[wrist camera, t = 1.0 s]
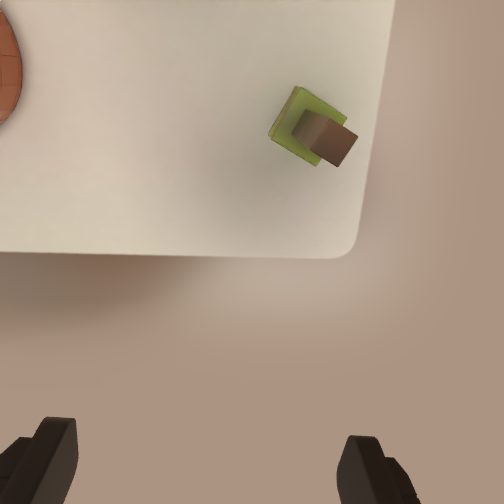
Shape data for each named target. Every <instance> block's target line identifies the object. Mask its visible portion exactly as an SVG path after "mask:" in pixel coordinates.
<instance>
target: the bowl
mask: <svg viewBox="0 0 504 504" xmlns="http://www.w3.org/2000/svg"><path fill="white" fill-rule="evenodd" d="M21 84H22V64H21V58H20V52H19V49H18V45H17V42H16V39H15V36H14V34H13V31H12V29H11V27H10V25H9V23H8V21H7V19H6V17H5V16H4V14H3V13H2V11H1V10H0V125H1V124H2V123H3V122H4V121H5V120H6V119H7V118H8V117H9V115H10V114H11V112H12V111H13V109H14V107H15V106H16V103H17V101H18V98H19V95H20V90H21Z"/></svg>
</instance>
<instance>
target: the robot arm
mask: <svg viewBox="0 0 504 504" xmlns="http://www.w3.org/2000/svg"><path fill="white" fill-rule="evenodd" d="M77 462H78V442H77V429H76V420H75V419H74V418H60V417H46V418H44V419H43V421H42V422H41V423H40V425H39V427H38V429H37V431H36V433H35V434H34V436H33V438H28V437H19V438H18V439H17V440H16V441H15V442H14V443H13V444H11V445H10V446H9V447H8V448H7V449H6V450H5V451H4V452H3V453H1V454H0V504H63V503H64V500H65V498H66V495H67V493H68V490H69V488H70V485H71V483H72V480H73V478H74V475H75V471H76V467H77ZM337 487H338V492H339V496H340V500H341V504H421V503H420V501H419V499H418V498H417V494H416V492H415V490H414V487H413V485H412V483H411V481H410V478H409V476H408V475H407V473H406V472H405V471H404V469H403V468H402V467H401V466H400V465H399V463H398V462H397V461H396V460H395V459H394V458H390V457H385V456H384V453H383V451H382V448H381V446H380V443H379V441H378V440H377V439H376V438H375V437H372V436H371V437H370V436H354V435H351V436H349V437H348V439H347V442H346V445H345V448H344V450H343V454H342V456H341V459H340V462H339V465H338V468H337Z"/></svg>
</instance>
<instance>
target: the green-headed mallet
mask: <svg viewBox="0 0 504 504" xmlns="http://www.w3.org/2000/svg"><path fill="white" fill-rule="evenodd" d="M346 119H347V117H346V116H344V115H343V114H341V113H340V112H338V111H337V110H335V109H334V108H332V107H331V106H329V105H328V104H326V103H325V102H323V101H322V100H320V99H319V98H317V97H316V96H314V95H313V94H311V93H310V92H308V91H307V90H305V89H304V88H302V87H295V89H294V91H293V92H292V94H291V96H290V98H289V99H288V101H287V103H286V105H285V106H284V108H283V110H282V112H281V113H280V115H279V117H278V118H277V120H276V122H275V124H274V125H273V127H272V129H271V131H270V132H269V134H268V135H269V137H270V138H271V140H273V141H275V142H276V143H278V144H280V145H281V146H283V147H285V148H286V149H288V150H289V151H291V152H293V153H294V154H296V155H298V156H299V157H301V158H303V159H304V160H306V161H308V162H309V163H311V164H312V165H314V166H317V164H318V163H319V161H320V160H321V158H323V159H325V160H326V161H328V162H330V163H331V164H333V165H334V166H336V167H339V165H340V164H341V162H342V161H343V159H344V158H345V156H346V155H347V153H348V152H349V150H350V149H351V147H352V146H353V144H354V143H355V141H356V140H357V138H358V136H357V135H355V134H354V133H352V132H351V131H349V130H348V129H346V128H345V127H343V126H342V125H343V124H344V122H345V121H346Z"/></svg>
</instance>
